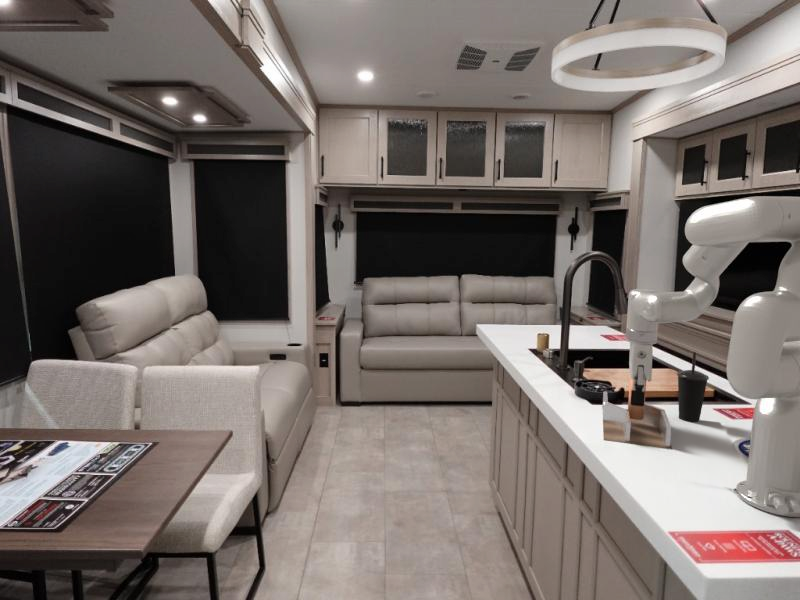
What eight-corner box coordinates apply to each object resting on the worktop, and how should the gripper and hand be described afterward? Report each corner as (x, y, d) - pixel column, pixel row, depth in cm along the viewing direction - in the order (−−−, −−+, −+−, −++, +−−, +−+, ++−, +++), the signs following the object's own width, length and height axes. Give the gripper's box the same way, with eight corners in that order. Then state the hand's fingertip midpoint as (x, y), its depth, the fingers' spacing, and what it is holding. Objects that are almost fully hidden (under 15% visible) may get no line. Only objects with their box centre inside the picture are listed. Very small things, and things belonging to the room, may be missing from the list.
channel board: (672, 453, 125) (672, 449, 125) (603, 443, 130) (603, 439, 130) (660, 416, 149) (660, 412, 149) (602, 409, 154) (602, 406, 154)
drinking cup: (669, 422, 145) (675, 352, 142) (678, 415, 150) (683, 347, 147) (699, 429, 139) (706, 357, 136) (707, 422, 145) (714, 352, 142)
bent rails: (669, 447, 126) (671, 427, 125) (603, 438, 131) (604, 419, 130) (658, 414, 148) (660, 397, 147) (602, 407, 153) (603, 391, 152)
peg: (644, 420, 137) (647, 377, 136) (627, 418, 139) (630, 375, 137) (642, 415, 141) (646, 372, 139) (626, 413, 142) (629, 371, 141)
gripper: (660, 344, 128) (655, 415, 130) (653, 331, 143) (648, 394, 146) (627, 341, 130) (622, 411, 133) (624, 329, 146) (620, 391, 148)
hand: (636, 401), depth 139 cm, fingers closed on peg, 4 cm apart
